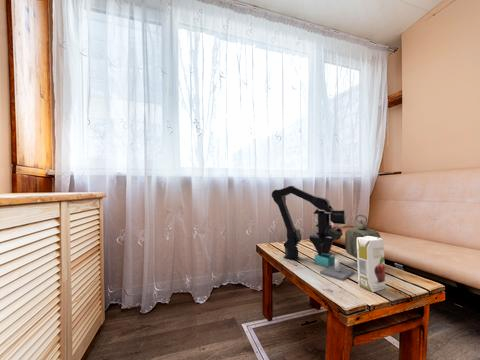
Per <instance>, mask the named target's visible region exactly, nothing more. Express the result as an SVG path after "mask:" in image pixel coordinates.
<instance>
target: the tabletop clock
mask: <svg viewBox="0 0 480 360" xmlns="http://www.w3.org/2000/svg"><path fill="white" fill-rule="evenodd" d="M359 217H363V218H364V219H365V221H363V220H360V221H359V220H358V219H357V218H359ZM355 220H356V222H358V224H356V226H355V227H354V228H348V229H346V231H345V233H344V234H345V235H344V242H345V243H344V245H345V251H346V253H347V254H348V255H349V256H351V257H354V258H356V259H357V237H365V236H372V237H377V238H381V234H380V233H379V232H378V231H377V230H373V229H371V228H368V226H367V225H366V224H367V222H368V218H367V217H366V216H365V215H363V214H357V215H356V216H355Z"/></svg>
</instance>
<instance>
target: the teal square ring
mask: <svg viewBox="0 0 480 360" xmlns="http://www.w3.org/2000/svg"><path fill="white" fill-rule="evenodd" d="M335 259H336V255H334V254H330V253H329V254H325V253H321V255H319V254H318V253H317V254H315V255H314V264H317V265H320V266H324V267H326V268H328V267H330V266H332V265H335Z"/></svg>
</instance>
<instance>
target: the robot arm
mask: <svg viewBox="0 0 480 360" xmlns="http://www.w3.org/2000/svg"><path fill="white" fill-rule="evenodd" d="M291 194H292V195H294V196H296V197H298V198H301V199H303V200H304V201H307V202H309V203H310V204H311V205H313V206H314V207H315V208H317V209H315V211H313V214H314V215H317V224H316V227H317V232H316V234H311V235H310V236H309V241H310V242H311V243H312V245H313V246H314V249H315V250H316V253H317V254H319V255H321V253H322V245H323V244H324V243H325V244H326V248H327V251H328V252H329V253H330V251H331V249H332V245H333V242H334V241H338V240H340V239H341V238H342V236H343V230H342V229H341V228H339V227H338V228H333V226H332V224H334V225H335V224H337V225H346V223H347V217H346V212H345V210H342V209H341V210H336V209H334V208H333V207H332V205H331V202H330V200H329V199H328V198H324V197H321V196H316V195H314V194H311V193H309V192H306V191H304V190H302V189H300V188H298V187H296V186H294V185H289V186H287V187H283V188H281V189H274V190H273V191H272V192H271V198H272V199H273V202H274V203H275V204H276V205H277V206H278V209H279V212H280V214H281V217H282V220H283V222H284V226H285V228H286V238H287V240H286V241H285V242H284V243H283V247H284V253H285V254H284V255H283V259H288V260H291V261H295V260H297V259H299V258H300V256H299V250H298V249H299V248H298V245H299V243H300V242H301V241H302V234H301V229H299V228H298V229H296V227H295V225H294V222H293V220H292V217H291V214H290V211H289V209H288V205H287V201H286V200H287V198H286V197H287V196H289V195H291ZM330 222H331V223H332V224H331V223H330ZM324 241H325V242H324Z"/></svg>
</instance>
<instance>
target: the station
mask: <svg viewBox="0 0 480 360" xmlns="http://www.w3.org/2000/svg"><path fill="white" fill-rule="evenodd" d="M341 264H342V263H341V261H340V259H338V258H335V264H334V265H332V266H330V267H326V268H324V269H323V270H320V274H321V275H323V276H327V277H330V278H333V279H336V280H340V281H345V280H346V279H348V278H349V277H351V276H352V275H353V274H355V270H353V269H349V268H346V267H343V266H342V265H341Z"/></svg>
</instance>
